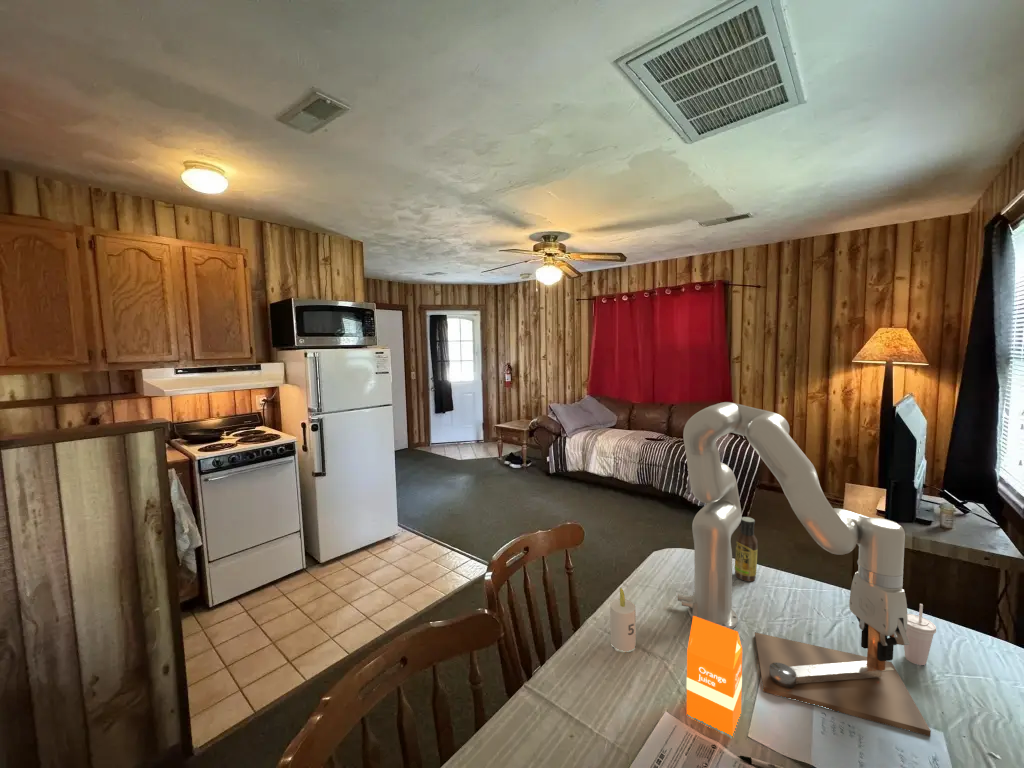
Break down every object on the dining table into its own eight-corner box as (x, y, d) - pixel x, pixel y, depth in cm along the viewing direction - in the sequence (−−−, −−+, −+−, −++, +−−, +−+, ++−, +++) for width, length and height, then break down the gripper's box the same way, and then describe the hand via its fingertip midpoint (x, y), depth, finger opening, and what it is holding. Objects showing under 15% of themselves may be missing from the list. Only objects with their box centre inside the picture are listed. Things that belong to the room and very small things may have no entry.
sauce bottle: (730, 574, 142) (731, 516, 141) (744, 570, 144) (745, 513, 143) (746, 584, 136) (747, 523, 135) (761, 580, 138) (762, 520, 137)
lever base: (763, 691, 95) (763, 686, 94) (754, 636, 112) (754, 631, 112) (930, 736, 83) (930, 730, 83) (891, 667, 101) (891, 661, 100)
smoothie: (941, 671, 99) (945, 613, 98) (909, 668, 100) (912, 611, 99) (921, 652, 105) (924, 597, 104) (891, 649, 106) (893, 595, 105)
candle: (621, 656, 106) (621, 599, 105) (605, 640, 112) (604, 586, 111) (641, 649, 109) (641, 592, 108) (624, 633, 115) (624, 580, 114)
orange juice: (697, 692, 95) (698, 606, 93) (741, 713, 89) (743, 622, 88) (685, 716, 89) (686, 625, 87) (732, 740, 83) (734, 643, 82)
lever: (779, 688, 93) (780, 638, 92) (764, 671, 98) (765, 623, 97) (892, 679, 95) (895, 630, 94) (872, 663, 100) (874, 616, 99)
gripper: (833, 558, 103) (831, 630, 105) (900, 598, 87) (896, 683, 88) (862, 556, 104) (860, 628, 105) (934, 595, 87) (930, 680, 89)
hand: (876, 652), depth 97 cm, fingers closed on lever, 3 cm apart
